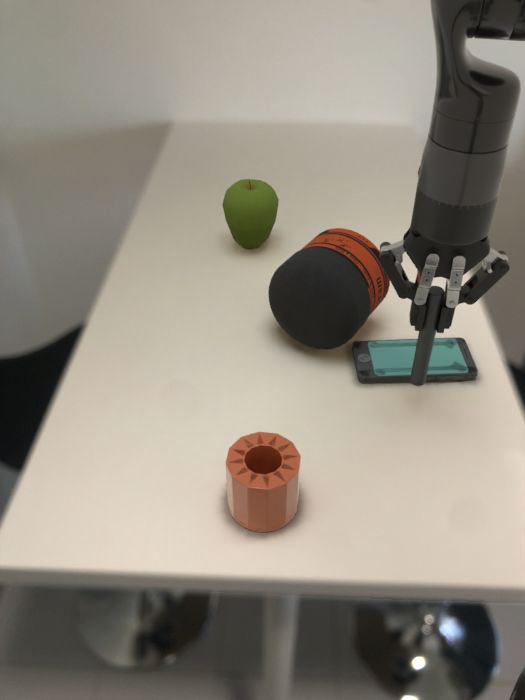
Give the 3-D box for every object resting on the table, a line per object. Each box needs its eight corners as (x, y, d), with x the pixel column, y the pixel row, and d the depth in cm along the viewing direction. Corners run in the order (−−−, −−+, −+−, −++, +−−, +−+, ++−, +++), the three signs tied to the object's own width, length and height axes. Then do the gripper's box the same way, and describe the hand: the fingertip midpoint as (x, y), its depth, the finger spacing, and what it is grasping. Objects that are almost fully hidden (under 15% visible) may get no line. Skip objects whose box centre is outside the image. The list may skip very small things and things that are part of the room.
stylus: (424, 389, 80) (445, 296, 71) (409, 388, 80) (427, 294, 71) (424, 379, 81) (444, 286, 72) (409, 377, 81) (427, 284, 72)
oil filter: (385, 324, 94) (397, 243, 85) (343, 374, 86) (352, 290, 78) (304, 293, 99) (308, 214, 91) (258, 338, 91) (257, 256, 83)
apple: (234, 265, 105) (232, 198, 97) (217, 239, 111) (213, 173, 103) (286, 254, 107) (287, 187, 100) (266, 228, 113) (266, 164, 106)
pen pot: (293, 536, 68) (296, 492, 63) (222, 527, 68) (220, 484, 64) (300, 479, 73) (303, 435, 69) (235, 472, 74) (233, 428, 69)
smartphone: (351, 339, 89) (464, 336, 90) (350, 346, 90) (462, 343, 90) (359, 377, 84) (480, 373, 84) (359, 385, 85) (478, 381, 85)
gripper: (384, 197, 61) (365, 343, 73) (540, 208, 60) (496, 355, 71) (384, 161, 67) (367, 302, 78) (527, 170, 66) (488, 312, 77)
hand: (428, 327), depth 75 cm, fingers closed on stylus, 2 cm apart
